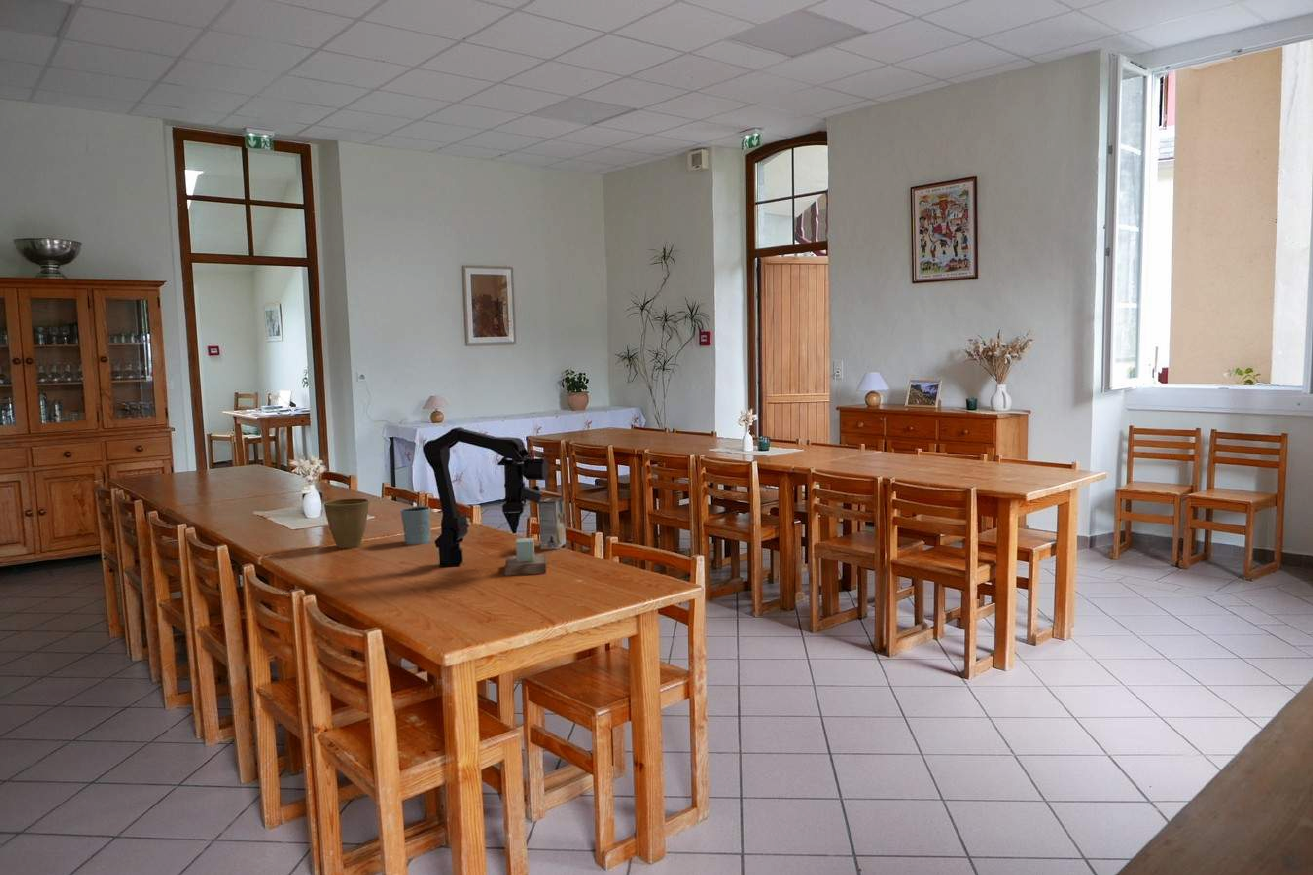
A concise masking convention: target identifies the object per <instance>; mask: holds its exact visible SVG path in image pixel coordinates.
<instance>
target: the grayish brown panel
mask: <svg viewBox="0 0 1313 875" xmlns="http://www.w3.org/2000/svg"><path fill="white" fill-rule="evenodd" d="M547 563H548V562H547V553H538V554H534V561H525V562H517V555H507V556H506V559H505V563H504V576H517V575H534V574H536V575H537V574H546V573H547Z"/></svg>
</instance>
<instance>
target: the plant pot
mask: <svg viewBox="0 0 1313 875" xmlns="http://www.w3.org/2000/svg"><path fill="white" fill-rule="evenodd" d="M369 503H370V500H369V499H367V498H361V497H360V498H359V497H355V498H354V497H353V498H351V497H349V498H339V499H334V500H328V501H324V502H323V508H324V513H325V517H326V522H327V524H328V527H329V530H330V533H331V536H332V538H333V540H334V543H335V545H336V547H337V548H338V549H352V548H353V549H354V548H358V547H359V546H360V545H361V543H362V539H363V536H364V532H365V530H366V529H365V528H366V524H367V519H368V513H369Z"/></svg>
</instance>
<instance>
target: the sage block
mask: <svg viewBox="0 0 1313 875" xmlns="http://www.w3.org/2000/svg"><path fill="white" fill-rule="evenodd" d="M515 542H516V543H515V546H516V548H515V549H516V550H515V551H516V556H517V562H525V561H534V555H535V545H534V537H526V538H524V537H523V538H516V541H515Z"/></svg>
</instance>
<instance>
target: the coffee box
mask: <svg viewBox="0 0 1313 875" xmlns="http://www.w3.org/2000/svg"><path fill="white" fill-rule="evenodd" d="M537 504H538V503H537ZM565 511H566V509H565V497H563V496H562V497H561V496H560V497H559V496H558V497H557V496H556V497H555V496H553V497H552V496H551V497H545V498H544V499H542V500H540V503H539V504H538V522H539V541H540V550H559V549H560V548H561V547H563V546H564V545H565V544H566V543H567V533H566V532H567V531H566V512H565ZM544 544H547V545H544ZM552 546H554V547H552ZM555 547H558V548H559V549H558V548H555Z"/></svg>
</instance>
